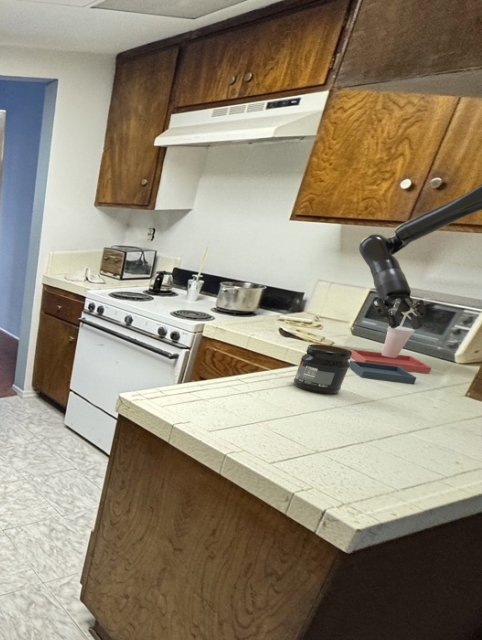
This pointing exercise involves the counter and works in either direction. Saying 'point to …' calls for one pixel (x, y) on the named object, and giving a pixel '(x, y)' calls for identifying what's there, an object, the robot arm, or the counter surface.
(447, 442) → the counter surface
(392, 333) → the smoothie
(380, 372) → the slate tray
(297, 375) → the supplement container
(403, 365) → the rose tray
